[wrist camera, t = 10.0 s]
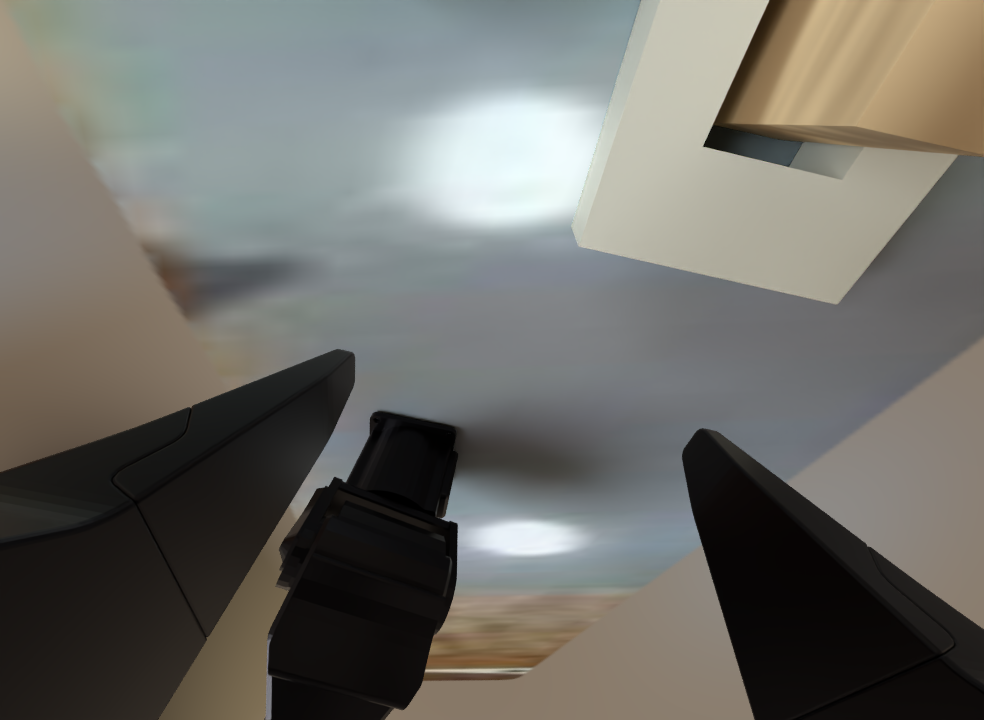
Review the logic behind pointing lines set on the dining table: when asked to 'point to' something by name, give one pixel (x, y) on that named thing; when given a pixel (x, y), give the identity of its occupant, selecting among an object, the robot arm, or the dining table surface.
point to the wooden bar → (864, 75)
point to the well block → (732, 170)
